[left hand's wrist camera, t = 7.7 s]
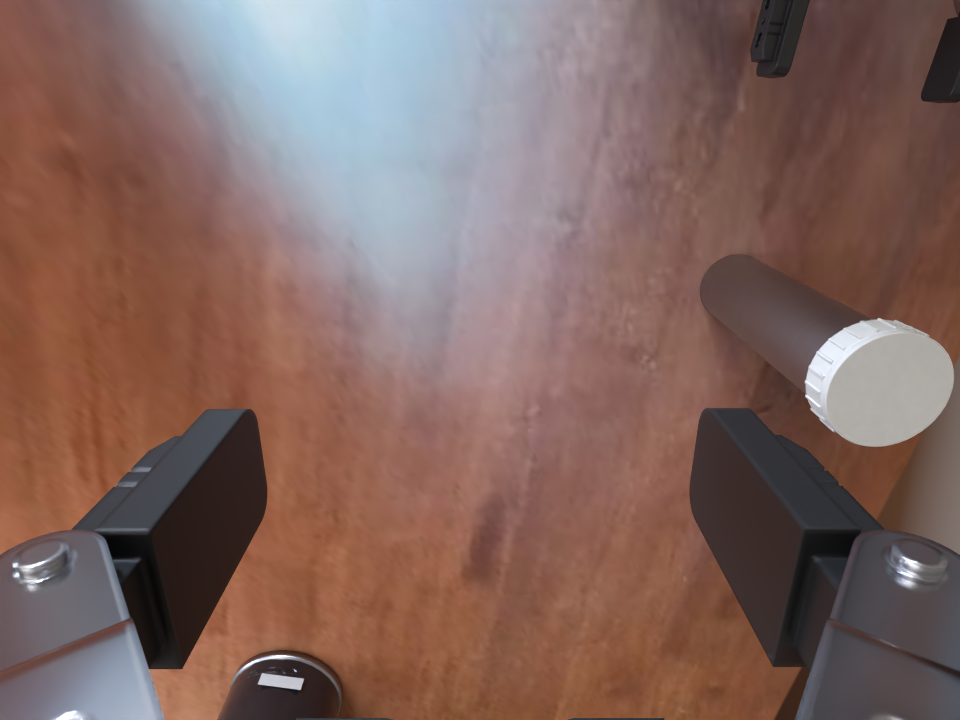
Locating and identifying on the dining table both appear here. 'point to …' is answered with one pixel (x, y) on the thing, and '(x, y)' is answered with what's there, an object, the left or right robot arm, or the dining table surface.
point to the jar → (774, 313)
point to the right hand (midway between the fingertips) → (856, 89)
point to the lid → (879, 382)
